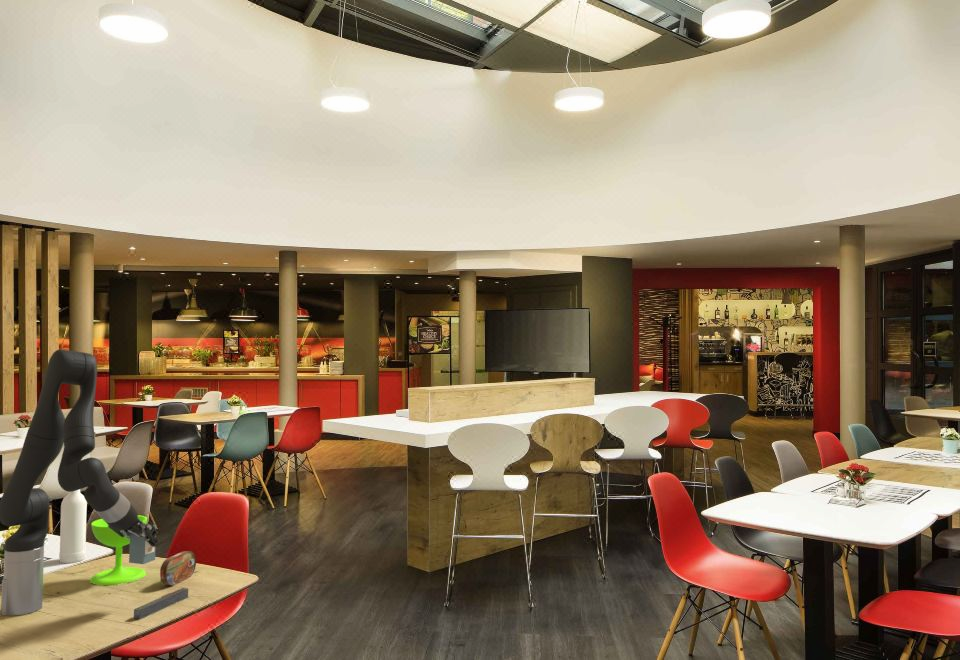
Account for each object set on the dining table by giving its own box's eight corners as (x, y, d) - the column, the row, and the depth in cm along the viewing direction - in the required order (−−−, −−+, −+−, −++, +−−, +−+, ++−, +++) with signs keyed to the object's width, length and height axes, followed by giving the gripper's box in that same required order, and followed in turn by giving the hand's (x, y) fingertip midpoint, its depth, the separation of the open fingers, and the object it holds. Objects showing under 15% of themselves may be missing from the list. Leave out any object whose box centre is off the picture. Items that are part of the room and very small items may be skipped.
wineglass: (107, 589, 206) (109, 529, 207) (79, 580, 214) (80, 522, 215) (156, 574, 220) (157, 519, 220) (128, 566, 228) (129, 513, 229)
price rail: (139, 619, 182) (139, 610, 182) (131, 618, 183) (132, 608, 183) (188, 597, 199) (188, 588, 199) (180, 596, 200) (181, 587, 200)
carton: (129, 562, 193) (130, 527, 193) (140, 558, 197) (142, 523, 197) (143, 564, 191) (144, 528, 192) (155, 559, 196) (156, 524, 196)
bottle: (83, 555, 241) (85, 470, 242) (87, 560, 235) (89, 473, 236) (57, 559, 236) (59, 473, 237) (60, 565, 230) (63, 476, 231)
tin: (166, 589, 206) (167, 561, 207) (157, 588, 207) (158, 560, 207) (196, 574, 221) (197, 547, 221) (188, 573, 222) (188, 547, 222)
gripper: (145, 500, 186) (174, 533, 197) (103, 496, 190) (134, 529, 201) (129, 524, 180) (161, 557, 191) (86, 520, 184) (119, 552, 195)
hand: (147, 543), depth 196 cm, fingers closed on carton, 5 cm apart
